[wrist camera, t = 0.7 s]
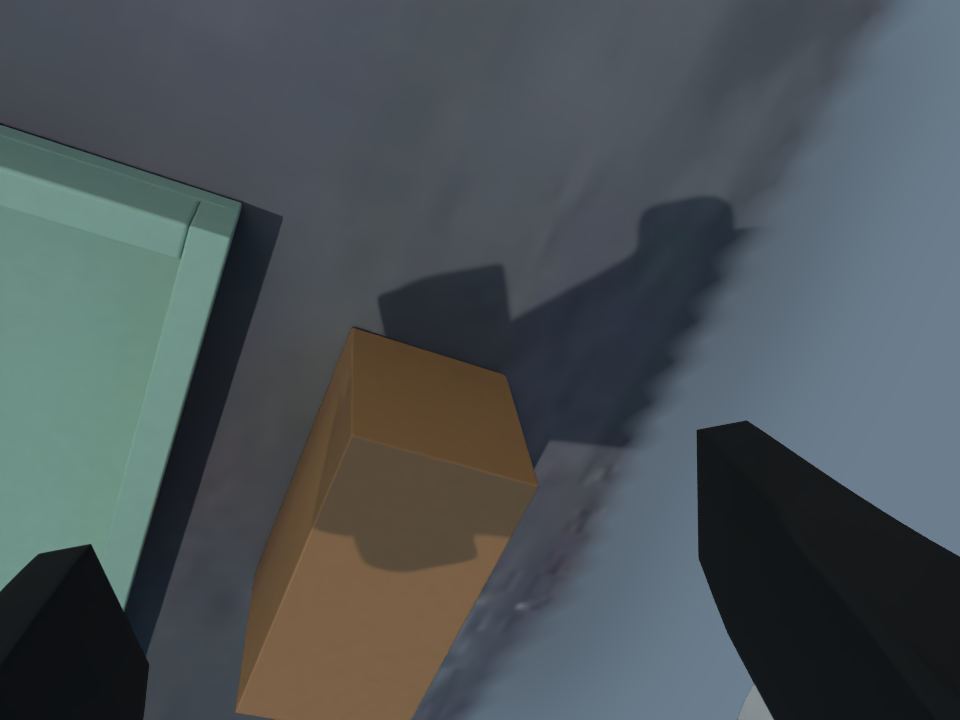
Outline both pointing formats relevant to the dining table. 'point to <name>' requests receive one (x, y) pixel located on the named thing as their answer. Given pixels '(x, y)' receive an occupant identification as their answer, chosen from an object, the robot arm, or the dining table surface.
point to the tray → (95, 345)
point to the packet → (383, 535)
